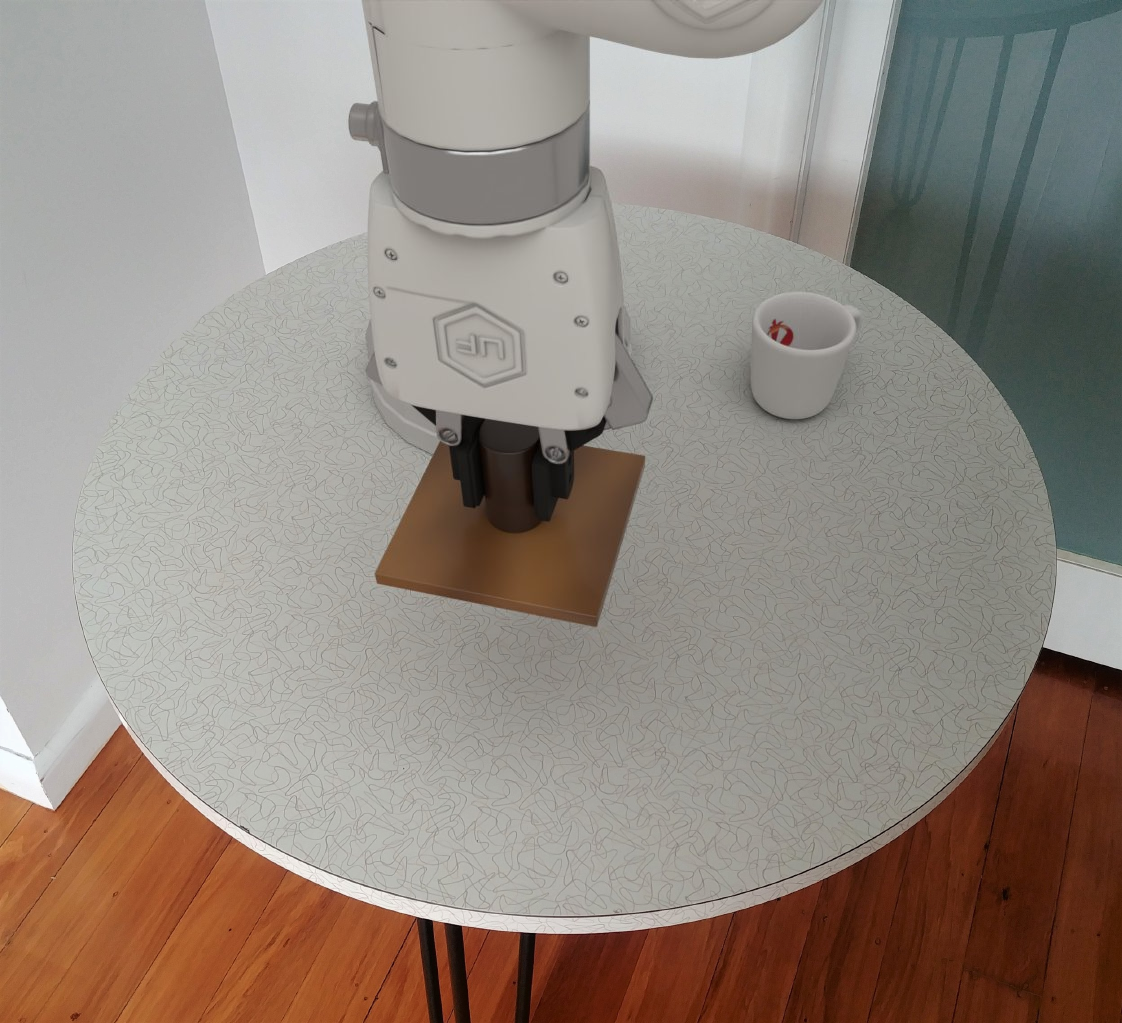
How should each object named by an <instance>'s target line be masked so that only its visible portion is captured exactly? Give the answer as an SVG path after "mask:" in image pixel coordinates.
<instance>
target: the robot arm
mask: <svg viewBox="0 0 1122 1023" xmlns="http://www.w3.org/2000/svg"><path fill="white" fill-rule="evenodd" d="M824 1H825V0H361V5H362V11H363V12H362V13H363V17H364V23H365V30H366V35H367V41H368V47H369V54H370V55H369V56H370V60H371V61H370V62H371V68H372V74H373V80H374V86H375V94H376V100H373V101H372V102H371V103H370V104H369V103H360V102H354V103H353V104H352V106H351V107H350V110H349V113H348V121H347V123H348V124H347V125H348V132H349V135H350V138H351V139H352V140H354V141H358V142H366V143H369V145H371V146H372V147H377V149H378V150H379V152H380V160H381V165H382V171H381V172H380V173H379V174H377V176H376V177H375V178H374V179H373V181H372V183H371V185H370V188H369V197H368V210H367V237H366V238H367V246H366V247H367V286H368V302H369V314H370V315H369V316H370V317H371V326H372V335H373V344H374V353H373V355H372V357H371V359H370V361H369V363H368V362H367V365H366V367H365V374H366V376H367V377H368V378H369V380H370V379H372V380H373V381H375V382H377V383H379V384H380V385H382V386H384V388H385V390H386V391H387V392H388V393H389V394H390V395H392V396H393V397H395V398H396V399H398V400H400V401H402V402H405V403H407V404H410V405H412V406H413V407H414V408H415V409H416V410H417V411H419V412H420V413H421V414H422V415H423V416H424V417H426V418H427V419H428V420H429V421H430V422H432V423H433V424H434V425H435V426H436V434H437V437H438V439H439V440H440V441H441V442H442V443H444V444H446V445H448V446H449V450H450V458H451V465H452V472H453V478H454V480H460V483H461V490H462V498H463V505H464V507H470V508H475V507H476V506H480V504H481V501H482V499H483V497H484V486H483V477H482V468H481V459H480V450H479V441H478V431H479V428H480V426H481V424H482V423H483V422H484V421H485V420H486V419H491V420H498V421H504V422H510V423H517V424H523V425H530V426H536V427H538V431H539V436H540V443H539V447H538V449H537V452H536V454H535V457H534V459H533V463H532V477H533V494H534V510H535V517H538V520H541V521H547V522H549V521H550V520H551V517H552V514H553V511H554V509H555V506H556V503H557V500H558V498H562V499H568V498H569V496H570V493H571V490H572V487H573V482H574V450H576V449H578V448H579V447H581V446H585V445H587V444H588V443H589V442H591V441H593V440H595V439H596V438H599V437H600V436H601V435H602V434H603V432H604V431H606V430H610V429H611V431H615V430H618V429H619V430H620V429H623V428H627V427H631V426H635V425H640V424H643V423H645V422H646V421H647V420H648V417H649V414H650V411H651V407H652V405H653V400H654V396H653V394H652V392H651V390H650V389H649V387H648V385H647V383H646V382H645V380H644V379H643V376H642V375H641V373H640V371H639V370H638V368H637V366H636V364H635V363H634V361H633V358H632V356H631V357H630V356H629V354H628V352H627V350H626V349H625V347H624V343H625V316H624V306H625V300H624V298H625V297H624V286H623V273H622V263H621V256H620V245H619V239H618V233H617V227H616V220H615V215H614V211H613V210H614V209H613V205H612V200H611V197H610V191H609V188H608V184H607V180H606V177H605V175H604V173H603V171H602V170H601V169H600V168H598V167H595V166H592V165H591V38H595V39H600V40H604V41H608V42H612V43H615V44H619V45H620V44H621V45H624V46H629V47H633V48H637V49H641V50H644V51H649V52H653V53H659V54H664V55H670V56H675V57H676V56H677V57H681V58H690V59H714V60H718V59H725V58H734V57H740V56H745V55H749V54H752V53H756V52H759V51H761V50H764V49H766V48H768V47H771V46H772V45H775V44H777V43H779V42H780V41H782V40H784V39H785V38H787V37H788V36H790V35H791V34H793V33H794V32H795V31H796V30H798V29H800V28H801V26H803V25H804V24H805V23H806V22H807V21H808V20H809V19H810V18H811V17H812V16H813V15H814V14H815V12H817V10H818V9H819V8H820V6H821V5H822V4H823V2H824ZM582 389H583V391H582ZM581 391H582V393H581Z"/></svg>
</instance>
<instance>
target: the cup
mask: <svg viewBox="0 0 1122 1023" xmlns="http://www.w3.org/2000/svg"><path fill="white" fill-rule="evenodd" d="M863 323H864V316H863V313H862V312H861V310H860V309H858V308H856V307H855V306H854V305H850V304H845V305H843V304H842V303H840V302H839V301H837V300H835V299H833V298H831V297H828V296H826V295H822V294H820V293H815V292H809V291H787V292H782V293H781V292H780V293H777V294H775V295H772V296H769V297H768V298H766V299H764V300H763V301H762V302H761V303H760V304H759V305H758V306H757V307H756V308H755V310H754V312H753V314H752V317H751V342H750V344H751V346H750V348H751V349H750V387H751V392H752V393H751V394H752V396H753V398H754V401H756V403H757V404H758V405H759V407H761V408H762V410H764V411H766V412H767V413H768V414H770V415H773V416H775V417H778V418H782V419H787V420H804V419H808V418H811V417H814V416H816V415H818V414H820V413H821V412H823V410H825V408H826V407H827V406H828V405H829V404H830V403H831V400H832V398H833V397H834V394H835V392H836V389H837V387H838V384H839V381H840V378H841V376H842V374H843V370H844V368H845V365H846V362H847V360H848V357H849V355H850V351H851V349H853V347H854V346H855V344H856V342H857V340H858V338H859V336H860V333H861V331H862V327H863Z"/></svg>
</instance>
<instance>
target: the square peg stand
mask: <svg viewBox="0 0 1122 1023" xmlns="http://www.w3.org/2000/svg"><path fill="white" fill-rule="evenodd" d="M478 441H479V450H480V459H481V468H482V477H483V486H484V497H483V499H482V501H481V504H480V506H476V507H475V508H470V507H464V505H463V498H462V490H461V483H460V480H454V478H453V472H452V465H451V458H450V450H449V446H448V445H446V444H444V443H442V442H441V441H440V442H439V444H438V446H437V448H436V450H435V452H434V454H432V455H431V458H430V460H429V462H428V465H427V466H426V469H425V470H424V472H423V475H422V476H421V477H420V478H421V479H420V480H419V483H418V485H417V487H416V489H415V491H414V493H413V495H412V497H411V499H410V501H409V503H408V505H407V507H406V509H405V511H404V513H403V515H402V517H401V519H400V521H399V523H398V525H397V527H396V529H395V531H394V533H393V535H392V537H391V539H390V541H389V543H388V545H387V547H386V550H384V551H385V552H384V553H383V555H382V558H381V559H380V562H379V564H378V566H377V567H376V569H375V572H374V577H375V582H376V584H377V585H382V586H387V587H391V588H397V589H401V590H405V591H412V592H417V593H422V594H427V595H432V596H438V597H441V598H447V599H452V600H457V601H462V602H467V603H471V604H478V605H482V606H487V607H493V608H498V609H503V610H507V611H513V612H517V613H521V614H522V613H523V614H527V615H532V616H537V617H543V618H548V619H552V620H557V621H563V622H568V623H573V624H577V625H582V626H588V627H593V628H597V627H598V626H599V622H600V619H601V615H602V611H603V608H604V604H605V602H606V598H607V596H608V591H609V589H610V585H611V583H612V582H611V581H612V578H613V575H614V571H615V568H616V565H617V561H618V558H619V555H620V551H621V548H622V545H623V541H624V538H625V534H626V531H627V528H628V525H629V521H630V518H631V514H632V511H633V508H634V504H635V501H636V497H637V494H638V490H639V487H640V484H641V481H642V477H643V474H644V471H645V467H646V455H642V454H639V453H638V454H637V453H631V452H624V451H618V450H612V449H607V448H601V447H594V446H590V445H583V446H581V447H579V448H578V449H576V450H574V482H573V487H572V490H571V493H570V496H569V498H568V499H562V498H558V500H557V503H556V506H555V509H554V511H553V514H552V517H551V520H550V521H549V522H547V521H541V520H538V517H535V510H534V494H533V477H532V463H533V459H534V457H535V454H536V452H537V449H538V447H539V443H540V436H539V431H538V427H536V426H530V425H523V424H517V423H510V422H504V421H498V420H491V419H486V420H485V421H484V422H483V423H482V424H481V426H480V428H479V431H478Z"/></svg>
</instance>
